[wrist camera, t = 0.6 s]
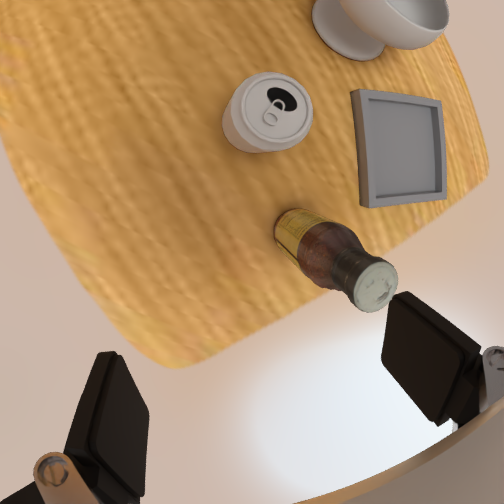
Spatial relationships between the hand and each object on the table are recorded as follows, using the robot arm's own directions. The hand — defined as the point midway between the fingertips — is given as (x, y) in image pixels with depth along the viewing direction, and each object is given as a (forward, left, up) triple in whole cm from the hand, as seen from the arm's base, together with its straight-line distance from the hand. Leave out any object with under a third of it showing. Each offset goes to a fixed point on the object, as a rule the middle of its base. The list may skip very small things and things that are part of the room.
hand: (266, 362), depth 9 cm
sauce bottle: (+4, +10, -28) cm, 30 cm away
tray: (-6, +28, -28) cm, 40 cm away
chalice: (-25, +22, -28) cm, 44 cm away
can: (-10, +6, -28) cm, 31 cm away
